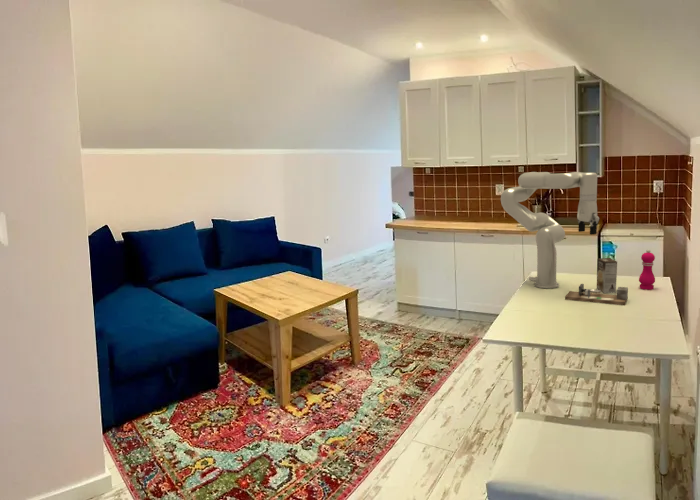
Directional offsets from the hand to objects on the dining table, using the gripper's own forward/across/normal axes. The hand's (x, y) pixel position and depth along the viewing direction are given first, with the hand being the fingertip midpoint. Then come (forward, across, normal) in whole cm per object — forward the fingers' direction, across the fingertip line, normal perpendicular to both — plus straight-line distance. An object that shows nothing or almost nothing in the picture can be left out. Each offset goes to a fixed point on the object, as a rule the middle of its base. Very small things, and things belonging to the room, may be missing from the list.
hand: (587, 232), depth 269 cm
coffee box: (+31, +1, +10) cm, 32 cm away
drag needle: (+28, +14, -7) cm, 32 cm away
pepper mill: (+31, +3, +31) cm, 44 cm away
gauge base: (+30, +13, -3) cm, 33 cm away
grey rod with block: (+28, +10, -4) cm, 30 cm away
